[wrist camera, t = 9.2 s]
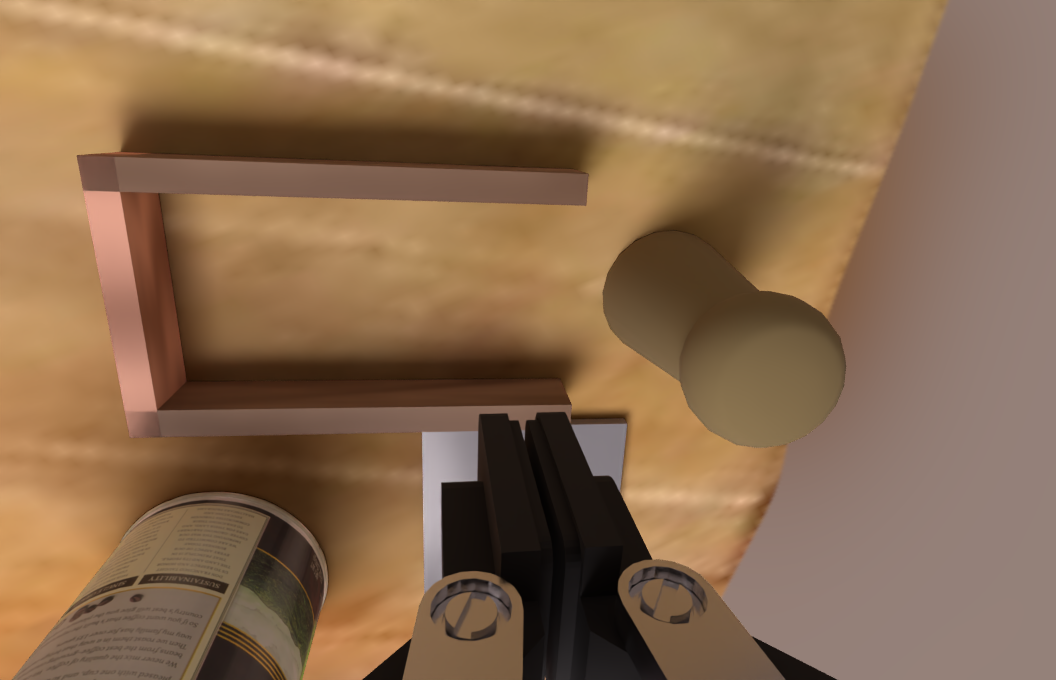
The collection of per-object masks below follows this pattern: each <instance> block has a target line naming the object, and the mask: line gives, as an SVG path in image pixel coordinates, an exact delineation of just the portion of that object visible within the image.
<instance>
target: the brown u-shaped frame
mask: <svg viewBox="0 0 1056 680" xmlns="http://www.w3.org/2000/svg"><path fill="white" fill-rule="evenodd" d="M77 160H78V165H79V171H80V176H81V181H82V186H83V192H84V197H85V202H86V208H87V213H88V218H89V224H90V229H91V234H92V240H93V245H94V250H95V255H96V261H97V266H98V271H99V277H100V282H101V287H102V293H103V298H104V303H105V309H106V314H107V319H108V325H109V330H110V335H111V340H112V346H113V351H114V356H115V362H116V367H117V372H118V378H119V383H120V388H121V394H122V399H123V404H124V409H125V415H126V420H127V425H128V431H129V436H130V438H145V437H197V436H250V435H302V434H355V433H407V432H460V431H478V422H479V414H495V413H508V417H509V420H519V423H520V427H521V430H525V424H526V420H535V417H536V413H537V412H565V413H566V414H567V417H568V419H569V421H570V423H571V409H572V404H571V402H570V400H569V397H568V395H567V393H566V391H565V388H564V386H563V384H562V382H561V380H560V378H552V379H426V380H301V381H187V380H186V373H185V367H184V360H183V353H182V347H181V340H180V333H179V327H178V320H177V313H176V307H175V300H174V293H173V287H172V280H171V273H170V266H169V260H168V253H167V246H166V240H165V233H164V226H163V220H162V213H161V206H160V200H159V193H177V194H210V195H244V196H278V197H312V198H345V199H379V200H413V201H447V202H481V203H514V204H548V205H582V206H586V203H587V189H588V175H589V174H587V173H584V172H581V171H578V170H575V169H560V168H533V167H507V166H480V165H453V164H427V163H400V162H373V161H347V160H320V159H293V158H267V157H240V156H213V155H186V154H160V153H133V152H114V153H101V154H88V155H77Z"/></svg>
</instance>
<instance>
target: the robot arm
mask: <svg viewBox="0 0 1056 680" xmlns="http://www.w3.org/2000/svg"><path fill="white" fill-rule="evenodd" d="M441 549H442V579H441V580H439V581H438V582H436V583H434V584H433V585H432V586H431V587H430V588H429V589H428V590H427V592H426V593H425V594H424V596H423V598H422V600H421V603H420V605H419V609H418V613H417V617H416V622H415V626H414V631H413V635H412V638H411V639H410V640H409V641H408V642H407V643H405V644H404V645H403V646H402V647H401V648H399V649H398V650H397V651H396V652H395V653H393V654H392V655H391V656H390V657H389V658H388V659H386V660H385V661H384V662H383V663H382V664H380V665H379V666H378V667H377V668H376V669H375V670H373V671H372V672H371V673H370V674H369V675H367V676H366V677H365V678H364V679H363V680H545V678H546V680H837V679H835V678H833V677H831V676H829V675H827V674H825V673H823V672H821V671H819V670H817V669H815V668H813V667H811V666H809V665H807V664H805V663H803V662H802V661H799V660H797V659H796V658H794V657H792V656H790V655H788V654H786V653H784V652H782V651H780V650H778V649H776V648H774V647H772V646H770V645H768V644H766V643H764V642H762V641H760V640H758V639H756V638H754V637H752V636H751V635H750V634H749V633H748V632H747V630H746V629H745V628H744V626H743V625H742V624H741V623H740V621H739V620H738V619H737V618H736V616H735V615H734V614H733V612H732V611H731V610H730V609H729V607H728V606H727V605H726V603H725V602H724V601H723V600H722V598H721V597H720V596H719V595H718V593H717V592H716V591H715V590H714V588H713V587H712V586H711V585H710V584H709V583H708V582H707V581H706V580H705V579H704V578H703V577H702V576H701V575H700V574H698V573H697V572H695V571H694V570H692V569H690V568H689V567H687V566H684V565H681V564H678V563H676V562H672V561H666V560H660V559H656V560H652V558H651V556H650V554H649V551H648V549H647V547H646V545H645V543H644V541H643V539H642V537H641V535H640V533H639V531H638V529H637V527H636V525H635V523H634V520H633V518H632V516H631V514H630V512H629V510H628V508H627V506H626V504H625V502H624V500H623V498H622V496H621V494H620V492H619V490H618V487H617V485H616V483H615V481H614V480H613V478H612V477H611V476H609V475H606V476H593V474H592V472H591V470H590V467H589V465H588V463H587V460H586V458H585V456H584V454H583V451H582V449H581V447H580V444H579V442H578V440H577V437H576V435H575V433H574V430H573V428H572V426H571V424H570V421H569V419H568V417H567V414H566V413H565V412H537V413H536V417H535V420H526V424H525V440H524V438H523V434H522V431H521V427H520V423H519V420H509V417H508V413H495V414H479V422H478V468H477V481H464V482H441Z"/></svg>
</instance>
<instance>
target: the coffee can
mask: <svg viewBox="0 0 1056 680" xmlns="http://www.w3.org/2000/svg"><path fill="white" fill-rule="evenodd" d="M327 587H328V571H327V564H326V561H325V557H324V554H323V552H322V550H321V548H320V546H319V544H318V542H317V541H316V539H315V538H314V536H313V535H312V534H311V533H310V531H309V530H308V529H307V528H306V527H305V526H304V525H303V524H302V523H301V522H300V521H299V520H298V519H296V518H295V517H294V516H292V515H291V514H290V513H288V512H287V511H285V510H283V509H282V508H280V507H278V506H276V505H274V504H272V503H270V502H268V501H265V500H262V499H259V498H256V497H252V496H248V495H243V494H238V493H229V492H202V493H195V494H188V495H184V496H181V497H178V498H175V499H173V500H170V501H167V502H164V503H162V504H160V505H158V506H156V507H155V508H153V509H151V510H150V511H148V512H147V513H145V514H144V515H143V516H142V517H141V518H139V519H138V520H137V521H136V522H135V523H134V524H133V525H132V526H131V527H130V529H129V530H128V531H127V533H126V534H125V535H124V537H123V538H122V540H121V542H120V544H119V545H118V547H117V548H116V549H115V551H114V552H113V553H112V554H111V556H110V557H109V558H108V559H107V561H106V562H105V563H104V564H103V566H102V567H101V568H100V569H99V571H98V572H97V573H96V574H95V576H94V577H93V578H92V579H91V581H90V582H89V583H88V584H87V586H86V587H85V588H84V589H83V591H82V592H81V593H80V595H79V596H78V597H77V598H76V600H75V601H74V602H73V604H72V605H71V606H70V607H69V609H68V610H67V611H66V612H65V613H64V615H63V616H62V617H61V619H60V620H59V621H58V623H57V624H56V625H55V626H54V627H53V628H52V630H51V631H50V632H49V633H48V635H47V636H46V637H45V639H44V640H43V641H42V642H41V644H40V645H39V646H38V647H37V649H36V650H35V651H34V652H33V654H32V655H31V656H30V657H29V659H28V660H27V661H26V662H25V664H24V665H23V666H22V668H21V669H20V670H19V671H18V673H17V674H16V675H15V676H14V678H13V679H12V680H302V678H303V674H304V670H305V666H306V663H307V659H308V655H309V652H310V648H311V644H312V640H313V637H314V633H315V629H316V626H317V622H318V618H319V614H320V611H321V609H322V606H323V604H324V601H325V598H326V594H327Z"/></svg>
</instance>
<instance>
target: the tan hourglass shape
mask: <svg viewBox="0 0 1056 680" xmlns="http://www.w3.org/2000/svg"><path fill="white" fill-rule="evenodd" d="M603 308H604V314H605V316H606V319H607V321H608V324H609V326H610V329H611V330H612V331H613V332H614V333H615V335H616V336H617V337H618V338H619V339H620V340H621V341H622V342H623V343H624V344H626V345H627V346H628V347H630V348H631V349H633V350H634V351H636V352H637V353H639V354H640V355H642V356H643V357H645V358H646V359H647V360H649V361H650V362H652V363H653V364H655V365H656V366H658V367H659V368H661V369H662V370H664V371H665V372H667V373H668V374H669V375H671V376H672V377H674V378H675V379H677V380H678V381H680V383H681V387H682V390H683V392H684V395H685V398H686V401H687V403H688V406H689V408H690V409H691V410H692V412H693V413H694V414H695V415H696V416H697V417H698V419H699V420H700V421H701V422H702V423H703V424H704V425H705V427H706V428H707V429H708V430H709V431H711V432H713V433H715V434H717V435H719V436H720V437H722V438H724V439H726V440H728V441H730V442H732V443H734V444H736V445H741V446H748V447H755V448H767V447H773V446H780V445H786V444H788V443H791V442H793V441H795V440H797V439H800V438H802V437H804V436H806V435H807V434H808V433H810V432H811V431H812V430H814V429H815V428H816V427H817V426H819V425H820V424H821V423H822V422H823V421H824V420H825V419H826V417H827V416H828V415H829V414H830V412H831V411H832V410H833V409H834V407H835V406H836V404H837V402H838V399H839V397H840V394H841V392H842V390H843V387H844V380H845V371H846V362H845V355H844V351H843V348H842V343H841V339H840V337H839V335H838V334H837V332H836V331H835V330H834V328H833V327H832V325H831V324H830V323H829V321H828V320H827V319H826V318H825V316H824V315H823V314H822V313H821V312H820V311H818V310H817V309H815V308H813V307H812V306H810V305H809V304H807V303H806V302H804V301H802V300H800V299H798V298H796V297H794V296H790V295H786V294H781V293H776V292H771V291H759V290H758V289H757V288H756V287H754V286H753V285H752V284H751V283H750V282H749V281H748V280H747V279H746V278H745V277H744V276H743V275H742V274H740V273H739V272H738V271H737V270H736V269H735V268H734V267H733V266H732V265H731V264H730V263H729V262H727V261H726V260H725V259H724V258H723V257H722V256H721V255H720V254H719V253H718V252H717V251H716V250H715V249H713V248H712V247H711V246H710V245H709V244H708V243H706V242H704V241H703V240H701V239H700V238H698V237H696V236H695V235H693V234H689V233H684V232H680V231H675V230H673V231H664V232H656V233H652V234H650V235H648V236H646V237H644V238H641V239H639V240H637V241H635V242H634V243H633V244H631V245H630V246H629V247H628V248H627V249H626V250H625V251H623V252H622V253H621V254H620V255H619V256H618V258H617V260H616V261H615V263H614V264H613V266H612V267H611V269H610V271H609V272H608V275H607V279H606V282H605V286H604V290H603Z"/></svg>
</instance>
